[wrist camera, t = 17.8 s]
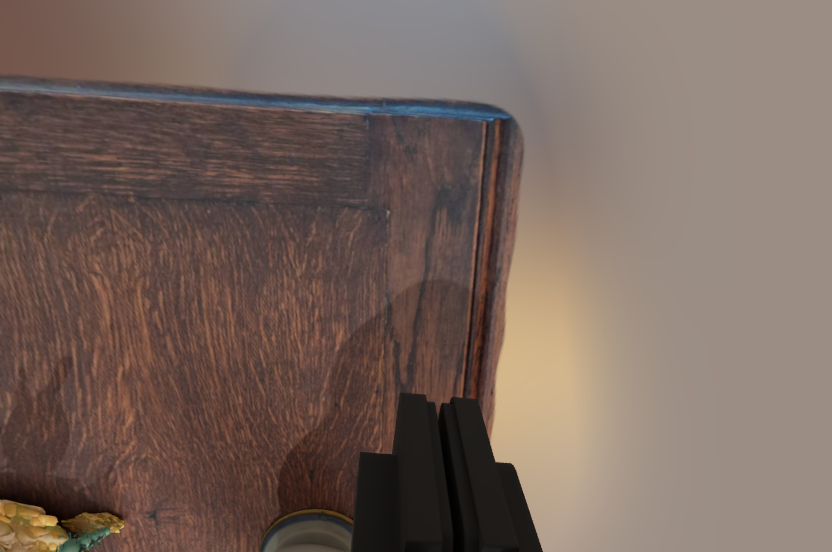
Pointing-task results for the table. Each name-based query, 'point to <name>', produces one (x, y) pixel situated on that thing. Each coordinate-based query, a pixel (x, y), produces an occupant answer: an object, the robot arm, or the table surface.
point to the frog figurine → (50, 529)
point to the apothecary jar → (309, 532)
